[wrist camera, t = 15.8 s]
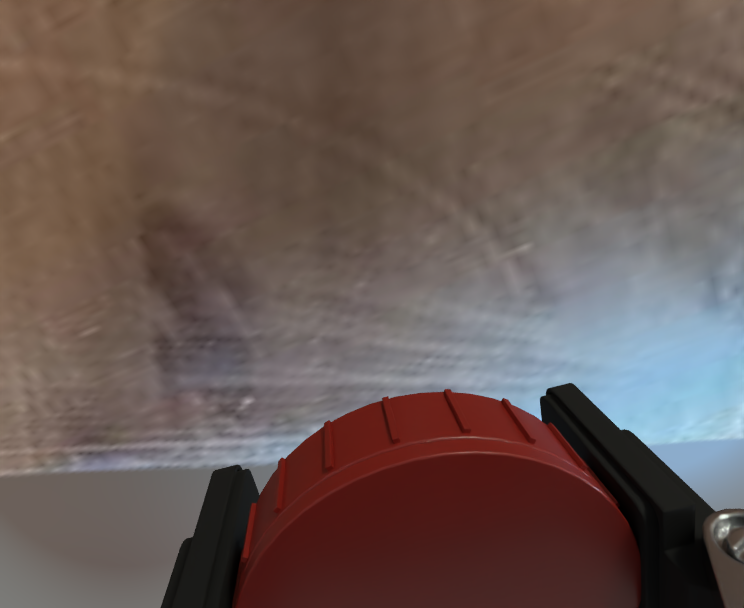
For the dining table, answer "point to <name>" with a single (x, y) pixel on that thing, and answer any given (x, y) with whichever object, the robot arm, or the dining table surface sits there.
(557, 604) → the lid
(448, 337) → the dining table surface
